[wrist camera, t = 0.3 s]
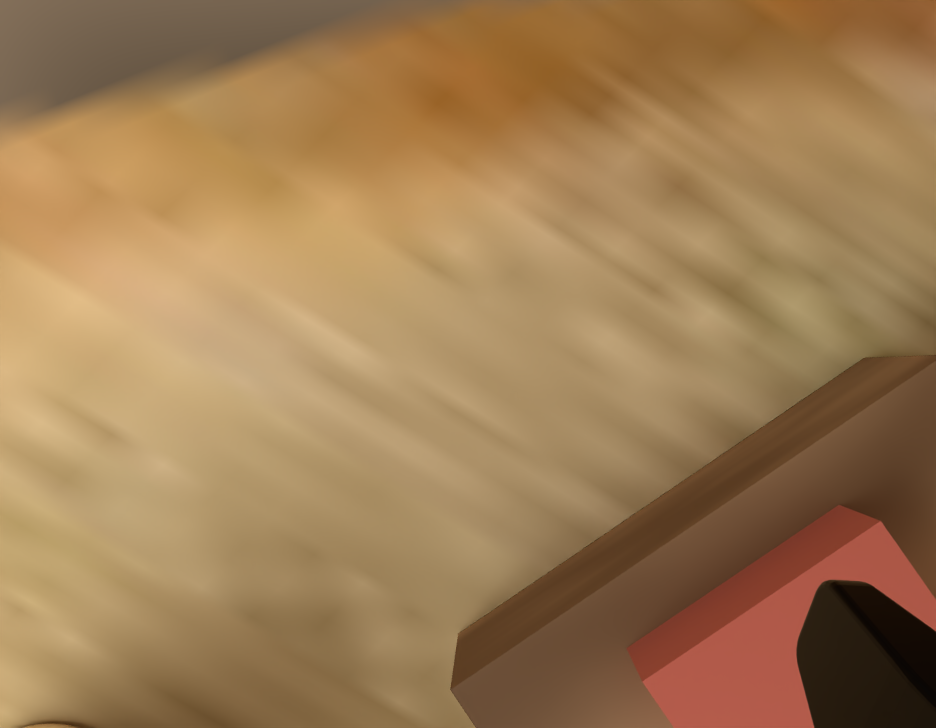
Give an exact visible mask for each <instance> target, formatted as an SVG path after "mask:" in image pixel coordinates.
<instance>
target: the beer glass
mask: <svg viewBox="0 0 936 728" xmlns="http://www.w3.org/2000/svg"><path fill="white" fill-rule="evenodd" d="M23 728H80V727H76V726H72V725H66V724H57V723H45V724H36V725H30V726H26V727H23Z"/></svg>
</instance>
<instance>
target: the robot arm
mask: <svg viewBox="0 0 936 728" xmlns="http://www.w3.org/2000/svg"><path fill="white" fill-rule="evenodd" d="M796 656H797V664H798V668H799V672H800V676H801V680H802V684H803V687H804V691H805V695H806V699H807V702H808V706H809V710H810V714H811V718H812V721H813V725H814V728H936V631H935V630H934V629H932V628H931V627H929V626H928V625H927V624H925V623H924V622H922V621H921V620H920V619H918V618H917V617H916V616H914V615H913V614H911V613H910V612H909V611H907V610H906V609H904V608H903V607H902V606H900V605H899V604H897V603H896V602H895V601H893V600H892V599H891V598H889V597H888V596H886V595H885V594H884V593H882V592H881V591H879V590H878V589H877V588H875V587H874V586H872V585H871V584H868V583H866V582H861V581H849V580H827V581H824V582H823V583H821V584H820V585H819V587H818V588H817V590H816V592H815V595H814V598H813V600H812V603H811V606H810V608H809V611H808V613H807V616H806V619H805V621H804V624H803V627H802V629H801V632H800V634H799V637H798V641H797V648H796Z"/></svg>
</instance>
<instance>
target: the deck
mask: <svg viewBox="0 0 936 728" xmlns="http://www.w3.org/2000/svg"><path fill="white" fill-rule="evenodd" d="M838 505H841V506H843V507H846V508H848V509H851V510H854V511H856V512H859V513H861V514H864V515H867V516H869V517H872V518H874V519H877V520H880V521H881V522H882V523H883V525H884V526H885V528H886V529H887V531H888V532H889V533H890V535H891V536H892V538H893V539H894V541H895V542H896V543H897V545H898V546H899V548H900V549H901V550H902V552H903V553H904V555H905V556H906V558H907V559H908V560H909V562H910V563H911V565H912V566H913V568H914V569H915V570H916V572H917V573H918V575H919V576H920V578H921V579H922V580H923V582H924V583H925V585H926V586H927V588H928V589H929V590H930V592H931V593H932V595H933V596H934V598H935V599H936V355H928V356H903V357H877V358H863V359H862V360H861V361H859V362H858V363H856V364H855V365H853V366H852V367H850V368H849V369H847V370H846V371H844V372H843V373H841V374H840V375H838V376H837V377H836V378H834V379H833V380H831V381H830V382H828V383H827V384H825V385H824V386H822V387H821V388H819V389H818V390H816V391H815V392H813V393H812V394H811V395H809V396H808V397H806V398H805V399H803V400H802V401H800V402H799V403H797V404H796V405H794V406H793V407H791V408H790V409H788V410H787V411H785V412H784V413H783V414H781V415H780V416H778V417H777V418H775V419H774V420H772V421H771V422H769V423H768V424H766V425H765V426H763V427H762V428H760V429H759V430H758V431H756V432H755V433H753V434H752V435H750V436H749V437H747V438H746V439H744V440H743V441H741V442H740V443H738V444H737V445H735V446H734V447H733V448H731V449H730V450H728V451H727V452H725V453H724V454H722V455H721V456H719V457H718V458H716V459H715V460H713V461H712V462H710V463H709V464H708V465H706V466H705V467H703V468H702V469H700V470H699V471H697V472H696V473H694V474H693V475H691V476H690V477H688V478H687V479H685V480H684V481H683V482H681V483H680V484H678V485H677V486H675V487H674V488H672V489H671V490H669V491H668V492H666V493H665V494H663V495H662V496H660V497H659V498H657V499H656V500H655V501H653V502H652V503H650V504H649V505H647V506H646V507H644V508H643V509H641V510H640V511H638V512H637V513H635V514H634V515H632V516H631V517H630V518H628V519H627V520H625V521H624V522H622V523H621V524H619V525H618V526H616V527H615V528H613V529H612V530H610V531H609V532H607V533H606V534H605V535H603V536H602V537H600V538H599V539H597V540H596V541H594V542H593V543H591V544H590V545H588V546H587V547H585V548H584V549H582V550H581V551H580V552H578V553H577V554H575V555H574V556H572V557H571V558H569V559H568V560H566V561H565V562H563V563H562V564H560V565H559V566H557V567H556V568H555V569H553V570H552V571H550V572H549V573H547V574H546V575H544V576H543V577H541V578H540V579H538V580H537V581H535V582H534V583H532V584H531V585H529V586H528V587H527V588H525V589H524V590H522V591H521V592H519V593H518V594H516V595H515V596H513V597H512V598H510V599H509V600H507V601H506V602H504V603H503V604H502V605H500V606H499V607H497V608H496V609H494V610H493V611H491V612H490V613H488V614H487V615H485V616H484V617H482V618H481V619H479V620H478V621H477V622H475V623H474V624H472V625H471V626H469V627H468V628H466V629H465V630H463V631H462V632H460V633H459V634H458V639H457V647H456V654H455V661H454V668H453V675H452V682H451V689H450V690H451V691H452V693H453V694H454V696H455V697H456V699H457V700H458V702H459V703H460V705H461V706H462V708H463V709H464V711H465V712H466V714H467V715H468V717H469V718H470V720H471V721H472V722H473V724H474V725H475V727H476V728H674V727H673V726H672V724H671V723H670V721H669V720H668V719H667V717H666V716H665V714H664V713H663V711H662V710H661V708H660V707H659V705H658V704H657V703H656V701H655V700H654V698H653V697H652V695H651V694H650V692H649V691H648V689H647V688H646V686H645V685H644V684H643V682H642V680H641V678H640V676H639V674H638V672H637V670H636V668H635V665H634V663H633V661H632V659H631V657H630V655H629V653H628V651H627V649H626V648H628V647H629V646H631V645H632V644H633V643H635V642H636V641H638V640H639V639H641V638H642V637H644V636H645V635H647V634H648V633H650V632H651V631H653V630H654V629H656V628H657V627H659V626H660V625H662V624H663V623H665V622H666V621H668V620H669V619H670V618H672V617H673V616H675V615H676V614H678V613H679V612H681V611H682V610H684V609H685V608H687V607H688V606H690V605H691V604H693V603H694V602H696V601H697V600H699V599H700V598H702V597H703V596H705V595H706V594H708V593H709V592H710V591H712V590H713V589H715V588H716V587H718V586H719V585H721V584H722V583H724V582H725V581H727V580H728V579H730V578H731V577H733V576H734V575H736V574H737V573H739V572H740V571H742V570H743V569H745V568H746V567H747V566H749V565H750V564H752V563H753V562H755V561H756V560H758V559H759V558H761V557H762V556H764V555H765V554H767V553H768V552H770V551H771V550H773V549H774V548H776V547H777V546H779V545H780V544H782V543H783V542H785V541H786V540H787V539H789V538H790V537H792V536H793V535H795V534H796V533H798V532H799V531H801V530H802V529H804V528H805V527H807V526H808V525H810V524H811V523H813V522H814V521H816V520H817V519H819V518H820V517H822V516H823V515H824V514H826V513H827V512H829V511H830V510H832V509H833V508H835V507H836V506H838Z"/></svg>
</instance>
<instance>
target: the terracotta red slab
mask: <svg viewBox="0 0 936 728" xmlns="http://www.w3.org/2000/svg"><path fill="white" fill-rule="evenodd" d="M827 580H849V581H861V582H866V583H868V584H871V585H872V586H874V587H875V588H877V589H878V590H879V591H881V592H882V593H884V594H885V595H886V596H888V597H889V598H891V599H892V600H893V601H895V602H896V603H897V604H899V605H900V606H902V607H903V608H904V609H906V610H907V611H909V612H910V613H911V614H913V615H914V616H916V617H917V618H918V619H920V620H921V621H922V622H924V623H925V624H927V625H928V626H929V627H931V628H932V629H934V630H935V631H936V599H935V598H934V596H933V595H932V593H931V592H930V590H929V589H928V588H927V586H926V585H925V583H924V582H923V580H922V579H921V578H920V576H919V575H918V573H917V572H916V570H915V569H914V568H913V566H912V565H911V563H910V562H909V560H908V559H907V558H906V556H905V555H904V553H903V552H902V550H901V549H900V548H899V546H898V545H897V543H896V542H895V541H894V539H893V538H892V536H891V535H890V533H889V532H888V531H887V529H886V528H885V526H884V525H883V523H882V522H881V521H880V520H877V519H874V518H872V517H869V516H867V515H864V514H861V513H859V512H856V511H854V510H851V509H848V508H846V507H843V506H841V505H838V506H836V507H835V508H833V509H832V510H830V511H829V512H827V513H826V514H824V515H823V516H822V517H820V518H819V519H817V520H816V521H814V522H813V523H811V524H810V525H808V526H807V527H805V528H804V529H802V530H801V531H799V532H798V533H796V534H795V535H793V536H792V537H790V538H789V539H787V540H786V541H785V542H783V543H782V544H780V545H779V546H777V547H776V548H774V549H773V550H771V551H770V552H768V553H767V554H765V555H764V556H762V557H761V558H759V559H758V560H756V561H755V562H753V563H752V564H750V565H749V566H747V567H746V568H745V569H743V570H742V571H740V572H739V573H737V574H736V575H734V576H733V577H731V578H730V579H728V580H727V581H725V582H724V583H722V584H721V585H719V586H718V587H716V588H715V589H713V590H712V591H710V592H709V593H708V594H706V595H705V596H703V597H702V598H700V599H699V600H697V601H696V602H694V603H693V604H691V605H690V606H688V607H687V608H685V609H684V610H682V611H681V612H679V613H678V614H676V615H675V616H673V617H672V618H670V619H669V620H668V621H666V622H665V623H663V624H662V625H660V626H659V627H657V628H656V629H654V630H653V631H651V632H650V633H648V634H647V635H645V636H644V637H642V638H641V639H639V640H638V641H636V642H635V643H633V644H632V645H631V646H629V647H628V648H626V649H627V651H628V653H629V655H630V657H631V659H632V661H633V663H634V665H635V668H636V670H637V672H638V674H639V676H640V678H641V680H642V682H643V684H644V685H645V686H646V688H647V689H648V691H649V692H650V694H651V695H652V697H653V698H654V700H655V701H656V703H657V704H658V705H659V707H660V708H661V710H662V711H663V713H664V714H665V716H666V717H667V719H668V720H669V721H670V723H671V724H672V726H673V727H674V728H814V725H813V721H812V718H811V714H810V710H809V706H808V702H807V699H806V695H805V691H804V687H803V684H802V680H801V676H800V672H799V668H798V664H797V656H796V648H797V641H798V637H799V634H800V632H801V629H802V627H803V624H804V621H805V619H806V616H807V613H808V611H809V608H810V606H811V603H812V600H813V598H814V595H815V592H816V590H817V588H818V587H819V585H820V584H821V583H823V582H824V581H827Z"/></svg>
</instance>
